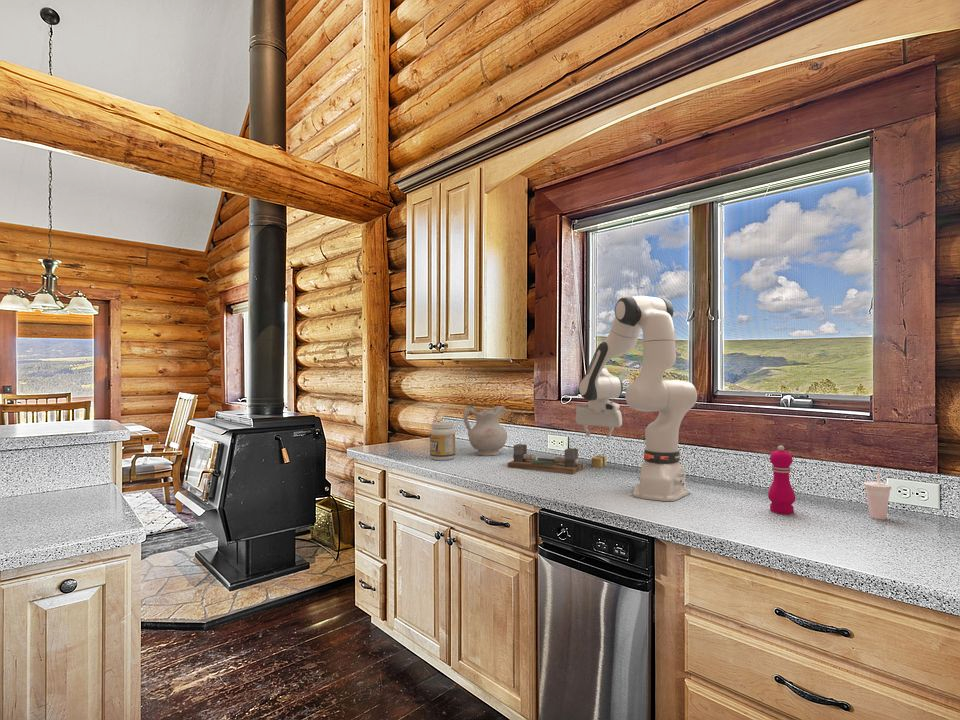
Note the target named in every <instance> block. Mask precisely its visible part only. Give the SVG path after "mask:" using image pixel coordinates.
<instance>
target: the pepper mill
mask: <svg viewBox="0 0 960 720" xmlns="http://www.w3.org/2000/svg"><path fill="white" fill-rule="evenodd" d="M793 459H794V458H793V456H792V454H791V453H790V452H788V451H786V450H785V447H784V446H783V445H778V446H777V450H775V451H774V450H773V451H772V452H771V453H770V456H769V461H770V463H771V464H772V466H771V471H772V472H773V480H772V483H771V485H770V486H769V489H768V491H767V492H768V493H767V497H768V500H769V501H770V502H771V503H770V504H769V510H770V511H771V512H772V513H776V514H779V515H780V514H781V515H782V514H783V515H791V514H794V511H795V509H794V506H793V504H794V503H795V502H796V494H795V491H794V489H793V487H792V485H791V482H790V473H791V472H792V471H791V469H792V468H791V466H792V464H793V461H794V460H793Z"/></svg>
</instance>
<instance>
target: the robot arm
mask: <svg viewBox="0 0 960 720" xmlns="http://www.w3.org/2000/svg"><path fill="white" fill-rule="evenodd" d="M614 315H615V316H614V319H613V321H612V324H611V327H610V332H609V333H608V335H607V337H606V338H605V339H604V340H603V341H602V342H601V343H600V344H598V346H597V348H596V349H595V352H594V353H593V354H594V355H593V356H592V358H591V361H590V363H589V365H588V368H587V369H586V372H585V374H584V376H583V378H582V379H581V380H580V382H579V385H578V392H579V395H580V396H581V397H582V398H583V399H585V401H586V402H587V403H578V404H577V405H576V406H575V412H576V413H575V423H576V425H579V426H583V429H584V431H585V436H591V431H590V430H589V429H588V427H589V426H590V427H591V426H595V427H596V426H597V427H607V428H608V429H609V432H606V438H611V437H612V432H613V431H614V430H615V428H620V427H622V425H623V416H622V412H621V410H620V407H621V405H620V404H619V403H616V402H615V401H611V400H612V399H618V398H620V397H621V396H622V393H623V392H624V391H623V390H624V385H623V384H624V383H623V382H622V380H621V379H620V377H618V376H615V375H613V374H612V373H610V372H609V370H608V368H606V367H605V365H606V363H608V362H609V361H611V360H612V359H614V358H616V357H619V356H621V355H625V354H628V353H629V352H631V351H632V350H633V349H634V348H635V347H636V344H637V342H638V338H639V335H640V332H641V329H642V365H641V367H640V368H641V369H640V371H639V373H638V375H637V376H636V378H635V379H634V380H633V381H632V382H631V383H630V384H629V385H628V386H627V388H626V389H625V390H626V391H625V393H624V394H625V396H624V398H625V402H626V404H627V406H628V407H629V408H630V409H631V410H633V411H638V412H647V413H648V412H658V414H657V415H658V416H656V419H655V420H654V421H651V422H650V423H649V424H648V425H647V426H646V428H645V437H644V438H645V442H644V443H645V444H644V445H645V449H644V451H643V462H642V463H641V465H640V466H641V467H640V473H639V474H640V475H639V476H638V480H639V482H638V483H637V482H636V483H635V485H634V489H633V491H632V496H633V497H635V498H639V499H644V500H645V499H646V500H652V501H653V500H654V501H660V502H661V501H662V502H676V501H678V500H679V499H681V498H684V497H685V496H687V495H689V494H691V489H689V488H686V475H685V474H686V473H685V471H686V470H685V468H684V466H683V465H681V463H680V461H681V460H680V459H681V453H680V450H679V434H680V433H679V431H680V428H681V427H680V426H681V423H682V421H683V419H684V417H685V416H686V414H687V413H688V412H689V410H691V409H692V408H693V407H695V405H696V403H697V400H698V391H697V389H696V387H695V385H694V384H693V383H692V382H689V381H685V380H679V379H675V380H673V379H669V380H667V379H663V377H664V374H665V372H666V371H667V370H670V368H672V367H673V366H674V365H675V364H676V361H677V355H676V354H677V350H676V334H675V327H674V324H673V322H674V321H673V316H674V307H673V304H672V302H671V300H669V299H668V298H667V299H666V298H664V297H655V296H647V295H635V296H632V295H627V296H626V295H625V296H623V297H621V298H619V299H618V300H617V302H616V303H615V307H614Z"/></svg>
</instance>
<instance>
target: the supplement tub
mask: <svg viewBox="0 0 960 720" xmlns="http://www.w3.org/2000/svg"><path fill="white" fill-rule="evenodd" d="M429 456H430V457H429V458H430V459H431V460H433V461H440V460H442V461H451V460H454V459H455V457H456V430H455V428H454V422H451V421H450V422H449V421H439V422H437V421H436V422H432V423H431V429H430V431H429Z"/></svg>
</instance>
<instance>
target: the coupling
mask: <svg viewBox="0 0 960 720" xmlns="http://www.w3.org/2000/svg"><path fill="white" fill-rule="evenodd" d="M605 466H607V455H600V454H597V455H595V456H594V457H591V468H593V469H594V468H596V469H601V468H603V467H605Z"/></svg>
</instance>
